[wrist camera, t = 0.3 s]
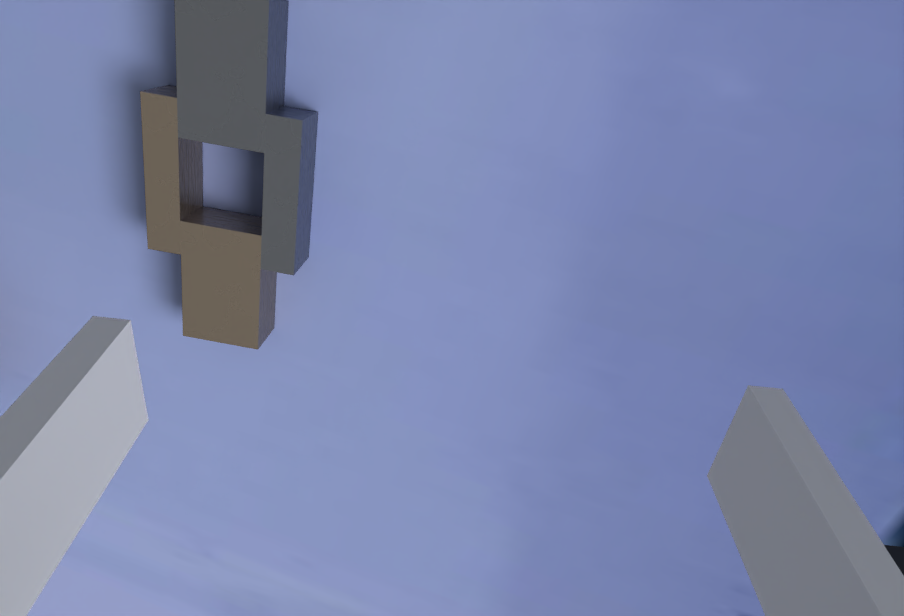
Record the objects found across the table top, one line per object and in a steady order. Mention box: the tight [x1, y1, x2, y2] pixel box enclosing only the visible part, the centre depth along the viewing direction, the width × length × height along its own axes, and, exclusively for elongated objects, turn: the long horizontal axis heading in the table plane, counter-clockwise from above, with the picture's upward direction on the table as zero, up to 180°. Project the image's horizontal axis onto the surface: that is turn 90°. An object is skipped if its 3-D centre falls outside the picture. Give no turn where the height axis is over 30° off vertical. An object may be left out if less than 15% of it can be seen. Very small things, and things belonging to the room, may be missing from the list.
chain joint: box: [140, 0, 318, 349], centre depth 38 cm, size 20×9×3 cm, turn 171°
